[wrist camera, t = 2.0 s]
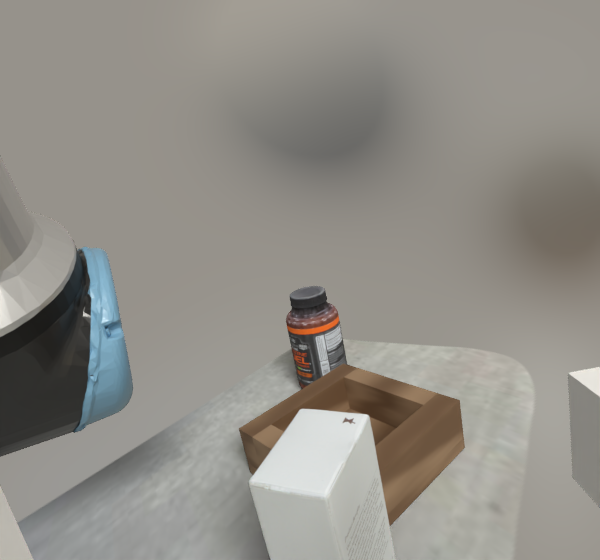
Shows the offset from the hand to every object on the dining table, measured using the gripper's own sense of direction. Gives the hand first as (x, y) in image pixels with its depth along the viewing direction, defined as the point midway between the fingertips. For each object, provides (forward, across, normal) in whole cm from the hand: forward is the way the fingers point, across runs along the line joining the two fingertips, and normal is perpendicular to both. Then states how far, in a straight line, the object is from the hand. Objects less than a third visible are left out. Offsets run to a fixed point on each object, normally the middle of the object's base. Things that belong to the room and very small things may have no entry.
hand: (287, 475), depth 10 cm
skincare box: (+10, 0, -18) cm, 21 cm away
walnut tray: (+23, +2, -18) cm, 30 cm away
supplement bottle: (+38, 0, -18) cm, 42 cm away
